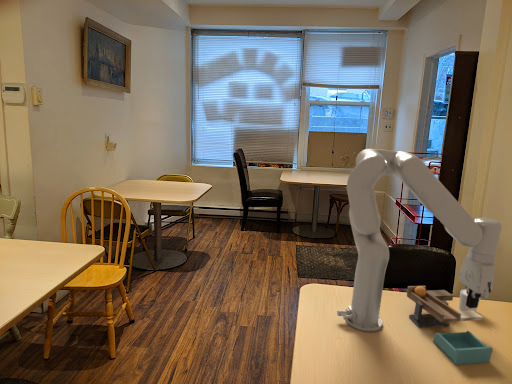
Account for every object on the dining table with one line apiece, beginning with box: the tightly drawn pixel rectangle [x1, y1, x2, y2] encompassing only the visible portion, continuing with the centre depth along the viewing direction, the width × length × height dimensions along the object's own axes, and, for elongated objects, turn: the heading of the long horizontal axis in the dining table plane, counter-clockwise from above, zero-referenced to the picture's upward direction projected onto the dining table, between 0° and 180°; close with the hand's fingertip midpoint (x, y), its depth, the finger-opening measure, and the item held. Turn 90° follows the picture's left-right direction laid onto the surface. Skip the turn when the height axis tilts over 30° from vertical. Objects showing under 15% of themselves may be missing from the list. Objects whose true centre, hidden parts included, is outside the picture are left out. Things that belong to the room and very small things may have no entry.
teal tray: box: [432, 330, 493, 366], centre depth 116 cm, size 12×11×5 cm
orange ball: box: [415, 285, 427, 297], centre depth 138 cm, size 4×4×4 cm
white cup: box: [458, 288, 482, 313], centre depth 141 cm, size 7×7×7 cm
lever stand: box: [408, 300, 451, 328], centre depth 132 cm, size 12×6×8 cm, turn 99°
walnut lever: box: [406, 285, 484, 323], centre depth 132 cm, size 16×20×4 cm
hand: (471, 306), depth 124 cm, fingers closed
